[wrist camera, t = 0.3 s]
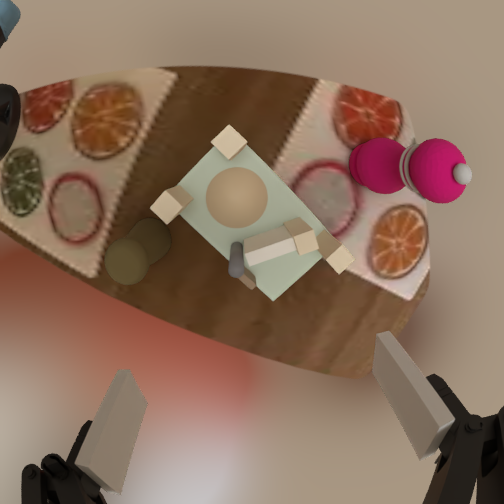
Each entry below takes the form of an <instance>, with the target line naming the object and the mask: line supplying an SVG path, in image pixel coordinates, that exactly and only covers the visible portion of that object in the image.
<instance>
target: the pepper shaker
mask: <svg viewBox="0 0 504 504" xmlns="http://www.w3.org/2000/svg"><path fill="white" fill-rule="evenodd" d="M170 246H171V234H170V232H169V229H168V228H167V227H166V225H165V224H164V223H163V222H161V221H160V220H158V219H155V218H145V219H142V220H140V221H139V222H138V223H137V224H136V225H135V226H134V227H133V228H132V229H131V231H130V232H129V233H128V234H127V236H126V237H125V238H120V239H118V240H116V241H114V242H113V243H112V244H111V245H110V246H109V247H108V249H107V251H106V253H105V260H104V261H105V267H106V270H107V272H108V274H109V275H110V277H111V278H112V279H113V280H115V281H116V282H118V283H121V284H124V285H132V284H135V283H138V282H139V281H140V280H142V279H143V278H144V277H145V275H146V273H147V272H148V269H149V266H150V265H151V264H153V263H154V262H156V261H157V260H159V259H160V258H162V257H163V256H164V255H165V254H167V252H168V250H169V249H170Z"/></svg>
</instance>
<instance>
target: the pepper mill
mask: <svg viewBox="0 0 504 504" xmlns="http://www.w3.org/2000/svg"><path fill="white" fill-rule="evenodd" d="M349 168H350V172H351V174H352V176H353V178H354V179H355V180H356V181H357V182H358V183H359V184H361V185H363V186H366V187H367V188H369V189H370V190H372V191H374V192H376V193H381V194H391V193H394V192H396V191H399V190H401V189H402V188H403V187H405V186H407V188H408V189H410V190H411V191H413V192H416V193H420V194H421V195H422V196H423V197H424V198H426V199H428V200H429V201H432V202H435V203H449V202H452V201H454V200H455V199H457V198H458V197H459V196H460V195H461V194H462V193H463V191H464V189H465V186H466V184H468V183H469V182H470V181H471V178H472V172H471V169H470V168H469V167H468V166H467V165H466V161H465V159H464V156H463V155H462V153H461V152H460V150H459V149H458V148H457V147H456V146H455V145H453V144H452V143H450V142H449V141H446V140H443V139H437V138H435V139H430V140H426V141H424V142H423V143H421V144H414V145H411V146H409V147H407V148H404V147H403V146H402V145H401V144H399V143H398V142H396V141H394V140H391V139H388V138H374V139H371V140H369V141H368V142H366V143H363V144H360V145H358V146H357V147H356V148H355V149H354V150H353V151H352V153H351V155H350V159H349Z"/></svg>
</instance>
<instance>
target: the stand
mask: <svg viewBox="0 0 504 504" xmlns="http://www.w3.org/2000/svg"><path fill="white" fill-rule="evenodd" d="M211 143H212V144H213V145H214V147H213V148H212V149H211V150H210V151H209V152H208V153H207V154H206V155H205V156H204V157H203V158H202V159H201V160H200V161H199V162H198V163H197V164H196V165H195V166H194V167H193V168H192V169H191V170H190V172H189V173H188V174H187V175H186V176H185V177H184V178H183V179H182V180H181V181H180V182H179V183H178V184H177V186H175V187H173V188H170V189H167V190H165V191H164V192H163V193H162V195H161V196H160V197H159V198H158V199H157V200H156V201H155V203H154V204H153V205H152V206H151V207H150V209H151V210H152V211H153V212H154V213H155V214H156V215H157V216H158V217H160V218H161V219H162V220H163V221H164V222H165V223H166V224H168V223H169V222H171V221H172V220H173V219H174V218H175V217H176V216H178V215H179V214H180V215H181V216H182V217H183V218H184V219H185V220H186V221H187V222H188V223H189V224H190V225H191V226H192V227H193V228H194V229H195V230H196V231H198V232H199V233H200V234H201V235H202V236H203V237H204V238H205V239H206V240H207V241H208V242H209V243H210V244H211V245H212V246H214V247H215V248H216V249H217V250H218V251H219V252H220V253H221V254H222V255H223V256H224V257H225V258H226V259H228V260H229V270H228V271H229V274H230V275H231V276H232V277H234V278H238V279H240V280H241V281H242V282H243V283H244V284H245V285H246V286H247V287H248V288H250V289H251V290H252V289H253V288H254V287H256V286H257V287H258V288H259V289H260V290H261V291H262V292H264V293H265V294H266V295H267V296H268V297H269V298H270V299H271V300H272V301H274V300H275V299H276V298H277V297H279V296H280V295H281V294H282V293H283V292H284V291H285V290H287V289H288V288H289V287H290V286H291V285H292V284H293V283H294V282H295V281H297V280H298V279H299V278H300V277H301V276H302V275H303V274H304V273H305V272H307V271H308V270H309V269H310V268H311V267H312V266H313V265H314V264H315V263H316V262H317V261H319V260H320V259H321V258H322V257H324V258H325V260H326V261H327V262H328V263H329V264H330V265H331V266H332V267H333V268H334V270H335V271H336V272H337V273H338V274H340V273H341V272H342V271H344V270H345V269H346V268H347V267H348V266H349V265H350V264H351V263H352V262H353V261H354V260H355V258H354V257H353V256H352V255H351V254H350V252H349V251H348V250H347V249H346V248H345V246H344V245H343V244H342V243H341V242H339V241H338V240H337V239H336V238H334V237H333V236H332V235H331V234H330V232H329V231H328V230H327V229H326V228H325V227H324V226H323V224H322V223H321V222H320V221H319V220H318V219H317V218H316V217H315V215H314V214H313V213H312V212H311V211H310V210H309V209H308V208H307V207H306V206H305V204H304V203H303V202H302V201H301V200H300V199H299V198H298V197H297V196H296V195H295V194H294V193H293V191H292V190H291V189H290V188H289V187H288V186H287V185H286V184H285V183H284V182H283V181H282V180H281V179H280V178H279V177H278V176H277V175H276V174H275V173H274V172H273V171H272V170H271V168H270V167H269V166H268V165H267V164H266V163H265V162H264V161H263V160H262V159H261V158H260V157H259V156H258V155H257V154H256V153H255V152H254V151H253V150H252V149H251V148H250V147H249V146H248V145H246V144H247V141H246V140H245V139H244V138H243V137H242V136H241V135H240V134H239V133H238V132H237V131H236V130H235V129H234V128H232V127H231V126H230V125H228V126H227V127H226V128H225V129H224V130H223V131H222V132H221V133H220V134H219V135H218V136H216V137H215V138H214V139H213V140H212V141H211ZM298 217H300V218H301V219H302V220H303V221H305V222H306V223H307V224H308V225H309V226H310V227H311V228H312V229H313V230H314V233H315V236H316V240H317V243H318V247H319V249H317V250H314V251H312V252H309V253H306V254H303V255H300V256H299V254H298V253H297V251H296V250H295V251H292V252H290V253H287V254H284V255H281V256H278V257H275V258H272V259H270V260H267V261H264V262H261V263H258V264H255V265H252V266H250V267H249V264H248V262H247V259H246V256H245V252H244V239H246V238H249V237H252V236H255V235H257V234H260V233H263V232H266V231H269V230H272V229H274V228H277V227H280V226H283V225H284V223H283V222H286V221H289V220H292V219H295V218H298Z"/></svg>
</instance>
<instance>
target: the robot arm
mask: <svg viewBox="0 0 504 504" xmlns="http://www.w3.org/2000/svg"><path fill="white" fill-rule="evenodd" d="M19 19H20V10H19V8H18V7H17V6H16V5H15V4H14V3H13V2H12V1H11V0H0V48H1V46H2V45H3V43H4V42H6V41H7V39H8V36H9V34H10V33H11V31H12V30H13V28H14V27H15V26H16V24H17V23H18V21H19ZM19 117H20V99H19V95H18V92H17V90H16V89H15V88H14V87H13V86H11V85H7V84H0V160H1V159H2V158H3V157H4V156H5V154H6V153H7V151H8V150H9V148H10V146H11V144H12V142H13V139H14V137H15V134H16V131H17V127H18V123H19ZM372 373H373V374H374V376H375V378H376V380H377V381H378V383H379V385H380V387H381V389H382V390H383V392H384V394H385V396H386V397H387V399H388V401H389V403H390V404H391V407H392V408H393V410H394V412H395V414H396V416H397V418H398V420H399V421H400V423H401V425H402V427H403V429H404V431H405V432H406V435H407V437H408V438H409V440H410V442H411V444H412V446H413V448H414V450H415V452H416V454H417V456H418V458H419V460H420V461H421V460H423V459H425V458H427V457H429V456H431V455H433V454H434V453H435V452H436V451H437V449H438V447H439V449H440V451H441V454H440V455H439V457H438V458H437V460H436V461H435V464H436V463H437V462H438V463H437V466H436V469H435V472H434V475H433V478H432V481H431V484H430V486H429V490H428V492H427V494H426V497H425V499H424V501H423V504H470V500H471V497H472V494H473V490H474V486H475V482H476V478H477V496H476V504H504V406H503V407H502V408H501V409H500V411H499V413H498V414H495V415H491V416H488V417H484V418H481V417H480V416H478V415H474V414H473V415H471V414H470V413H469V412H468V411H467V410H466V408H465V407H464V406H463V404H462V403H461V402H460V400H459V399H458V398H457V397H456V395H455V394H454V393H453V392H452V390H451V389H450V388H449V387H448V385H447V384H446V382H445V381H444V380H443V379H442V378H441V377H439V376H437V375H436V374H432V375H430V376H427V377H425V376H424V375H423V373H422V372H421V371H420V370H419V368H418V367H417V365H416V364H415V363H414V362H413V360H412V359H411V358H410V356H409V355H408V354H407V353H406V351H405V350H404V349H403V347H402V346H401V345H400V344H399V342H398V341H397V340H396V339H395V337H394V336H393V335H392V334H391V332H390V331H386V332H383V333H379V334H376V344H375V353H374V362H373V369H372ZM147 404H148V403H147V401H146V399H145V397H144V396H143V394H142V392H141V390H140V388H139V387H138V385H137V383H136V381H135V379H134V377H133V375H132V373H131V371H130V370H118V371H117V373H116V375H115V377H114V379H113V381H112V383H111V385H110V387H109V389H108V391H107V393H106V395H105V397H104V399H103V401H102V403H101V405H100V407H99V409H98V411H97V414H96V416H95V418H94V420H93V421H90V420H88V421H87V422H86V423H85V424H84V425H83V426H82V428H81V430H80V432H79V435H78V436H77V438H76V442H75V443H74V445H73V447H72V449H71V451H70V453H69V456H68V458H67V460H66V462H65V461H64V460H63V459H62V458H61V457H60V456H59V455H58V454H48V455H47V456H45V457H44V458H43V459H42V462H41V468H42V469H43V470H41V469H40V468H39V467H38V466H36V465H35V464H29V465H27V466H26V467H25V468H24V469H23V471H22V484H21V485H22V486H21V488H22V489H21V490H22V491H21V492H22V495H21V496H22V504H107V503H106V501H105V499H104V497H103V495H102V494H101V492H100V488H103V489H104V490H105V491H106V492H109V493H113V494H118V495H121V492H122V487H123V484H124V480H125V477H126V473H127V470H128V466H129V462H130V459H131V455H132V452H133V449H134V445H135V442H136V439H137V435H138V432H139V429H140V426H141V423H142V420H143V416H144V413H145V410H146V407H147ZM47 499H48V500H47Z"/></svg>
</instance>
